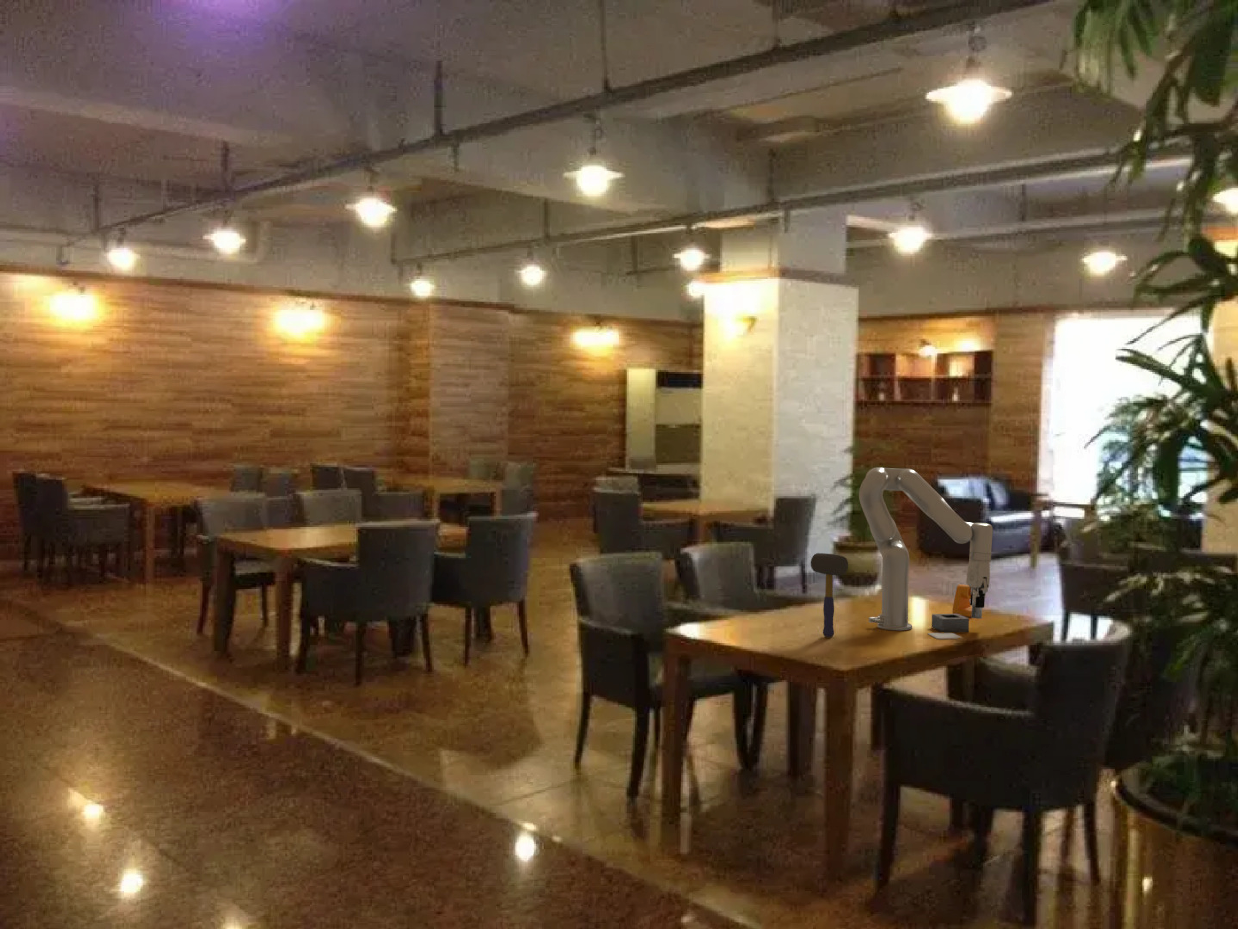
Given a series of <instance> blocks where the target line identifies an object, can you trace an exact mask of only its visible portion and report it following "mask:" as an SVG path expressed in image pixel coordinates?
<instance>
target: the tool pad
mask: <svg viewBox="0 0 1238 929" xmlns="http://www.w3.org/2000/svg"><path fill="white" fill-rule="evenodd" d="M927 635H929V636H930V637H932V638H934V639H936V640H959V639H958V638H962V639H963V637H962V636H960V635H959V634H956V633H955V632H953V633H942V632H927Z"/></svg>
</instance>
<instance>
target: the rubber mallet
mask: <svg viewBox="0 0 1238 929" xmlns="http://www.w3.org/2000/svg"><path fill="white" fill-rule="evenodd" d="M810 567H811V569H812V571H814V573H819V574H823V575H825V591H824V592H825V595H824V599H823V612H822V613H823V630H822V634H823V636H824V638H826V637H827V639H831V638H833V637H834V635H835V629H834V615H835V600H834V597H833V596H834V593H833V592H834V588H833V587H834V582H833V581H834V580H833V579H834V576H840V577H841V576H844V575H846V573H847V571H848V568H849V562H848V559H847V557H846V556H843V555H839V554H834V553H833V554H832V553H822V552H817V553H814V555H812V557H811V560H810Z"/></svg>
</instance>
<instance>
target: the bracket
mask: <svg viewBox="0 0 1238 929" xmlns="http://www.w3.org/2000/svg"><path fill="white" fill-rule="evenodd" d="M970 592H971V589H970V586H968V585H967V584H963V583H962V584H961V583H959V584H957V586H956V590H955V595H954V598H953V604H952V613H951V614H960V615H962V616H964V617H967V616H968V617H967V618H972V617H971V615H972V605H970V600H971V595H972V594H971V593H970Z"/></svg>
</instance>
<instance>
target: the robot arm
mask: <svg viewBox="0 0 1238 929" xmlns="http://www.w3.org/2000/svg"><path fill="white" fill-rule="evenodd" d="M860 484H861V485H860V487H859V492H858V494H859V495H858V498H859V503H860V506H861V508H862V509H861V510H862V511H863V514H864V517H865V518H866V521H867V524H868V526H869V529H870V533H871V535H872V537H873V540H874V542H875V544H876V546H877V548H878V551H879V552H880V555H881V558H882V567H881V568H882V569H881V572H882V573H881V614H878V616H870V617H868V622H869V623H875V624H877V625H876V626H877V627H878V628H879V629H882V630H886V631H908V630H912V629H913V625H912V624H911V623H909V574H910V553H909V551H908V548H907V547H906V545H905V543H904V540H903V538H902V535H901V534H900V531H899V529H898V527H897V524H896V522H895V520H894V519H893V518H892V516H891V514H890V511H889V509H888V508H887V504H886V502H885V500H884V497H883V495H884V491H898V492H899V491H901V492H903V493H904V494H905V495H906V496H907V497H908V498H909V499H910V500H911V501H912V502H913V503H914V504H915V505H916V506H917V507H918V508H919V509H920V510H921V511H922V512H923V513H924V514H925V515H926V516H927V517H929V519H931V520H933V521H934V522H935V523H936V524H937V525H938V526H939V527H940V528H941V529H942V530H943V531H944V532H945V533H946V534H947V535H948V536H949V537H950V538H951V539H952V540H953V541H954V542H955V543H957V544H962V545H963V544H967V543H969V555H968V556H969V559H968V560H969V561H968V565H967V573H966V580H965V581H966V582H965V584H966V585H968V586H970V589H971V592H970V593H971V594H972V595H971V599H969V600H970V606H972V599H973V588H976V589H977V597H976V603H975V607H976V608H982V609H983V608H985V598H986V595H987V593H988V591H989V587H990V580H991V576H990V575H991V569H990V568H991V566H990V563H991V562H992V561H991V560H992V546H993V544H992V543H993V531H994V530H993V529H994V528H993V525H991V524H990V523H986V522H968V521H965V520H964V519H963V518H962V517H961V516H959V514H958V513H956V512H955V510H953V509H952V507H951V506H950V505H949V503H948V502H947V501H946V500H945V499H944V498H943V496H941V495H940V494H939V493H938V491H936V490H935V489H934V488H933V487H932V486H931V484H929V482H927V481H926V480H925V479H924V478H923V477H922V476H921V475H920V474H919V473H918V472H917V471H915V470H914V469H912V468H891V467H890V468H889V467H878V466H877V467H873V468H871V469H869V470H868V472H866V475H865V478H863V481H862V483H860ZM979 587H983V588H979ZM980 590H981V591H980Z"/></svg>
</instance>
